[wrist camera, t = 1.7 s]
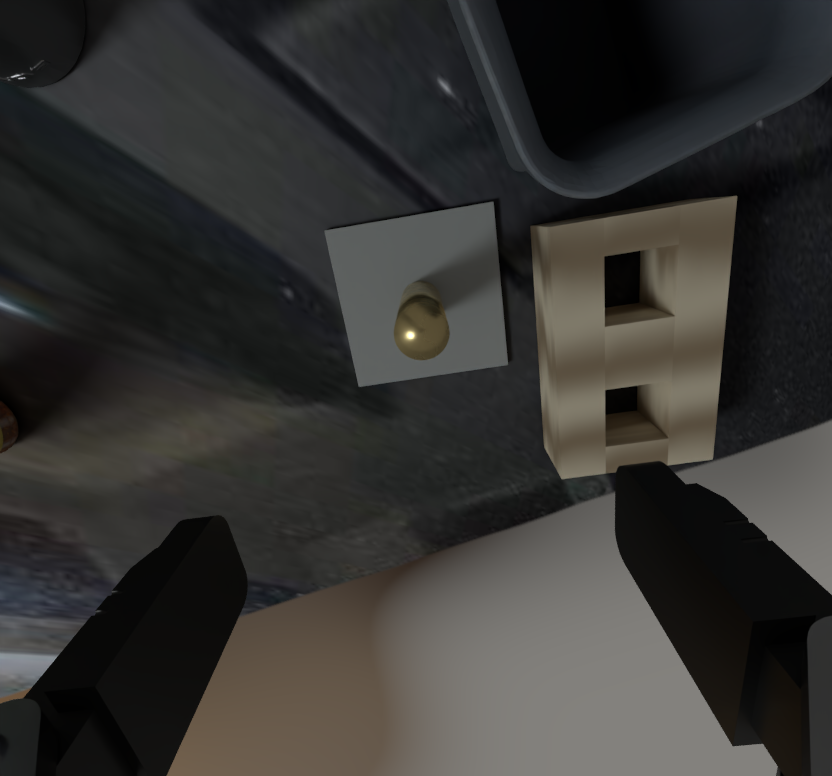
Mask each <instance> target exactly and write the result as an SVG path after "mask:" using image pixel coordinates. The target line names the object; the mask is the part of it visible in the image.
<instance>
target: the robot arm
mask: <svg viewBox="0 0 832 776" xmlns="http://www.w3.org/2000/svg"><path fill="white" fill-rule="evenodd" d="M84 36H85V9H84V3H83V0H0V81H1V82H4V83H8V84H11V85H15V86H20V87H26V88H32V87H43V86H46V85H49V84H52V83H55V82H57V81H58V80H59V79H61V78H62V77H63V76H65V75H66V74H67V73H68V72H69V71H70V69H71V68H72V67H73V66H74V64H75V63H76V61H77V59H78V57H79V54H80V52H81V50H82V46H83V41H84ZM615 534H616V541H617V545H618V548H619V552H620V555H621V557H622V559H623V561H624V563H625V565H626V567H627V568H628V570H629V572H630V574H631V575H632V577H633V579H634V580H635V582H636V584H637V585H638V587H639V589H640V591H641V592H642V594H643V596H644V597H645V599H646V601H647V602H648V604H649V606H650V607H651V609H652V611H653V612H654V614H655V616H656V617H657V619H658V621H659V622H660V624H661V626H662V627H663V629H664V631H665V633H666V634H667V636H668V638H669V639H670V641H671V643H672V644H673V646H674V648H675V650H676V651H677V653H678V655H679V656H680V658H681V660H682V661H683V663H684V665H685V666H686V668H687V670H688V671H689V673H690V675H691V676H692V678H693V680H694V682H695V683H696V685H697V686H698V688H699V690H700V692H701V693H702V695H703V697H704V698H705V700H706V702H707V703H708V705H709V707H710V708H711V710H712V712H713V714H714V715H715V717H716V719H717V720H718V722H719V724H720V725H721V727H722V729H723V731H724V732H725V734H726V736H727V737H728V739H729V741H730V742H731V744H732V746H739V745H740V746H741V745H752V744H764V746H765V747H766V749H767V750H768V752H769V753H770V755H771V756H772V758H773V760H774V761H775V763H776V764H777V766H778V768H777V773H776V776H832V595H831V594H830V593H829V592H828V591H826V590H825V589H824V588H823V587H822V586H821V585H820V584H819V583H818V582H817V581H816V580H814V579H813V578H812V577H811V576H810V575H809V574H808V573H807V572H806V571H805V570H804V569H802V568H801V567H800V566H799V565H798V564H797V563H796V562H795V561H794V560H792V558H790V557H789V556H788V555H787V554H786V553H785V552H784V551H783V550H782V549H781V548H780V547H778V546H777V545H776V544H775V543H774V542H773V541H768V539H767V536H766V535H765V534H764V533H763V532H762V531H761V530H760V529H759V528H758V527H757V526H755V525H754V524H753V523H749V521H748V518H747V517H745V515H744V514H742V513H741V512H740V511H739V510H738V509H737V508H736V507H735V506H733V504H731V503H730V502H729V501H728V500H727V499H726V498H724V497H722V496H720V495H718V494H716V493H714V492H712V491H710V490H709V489H707V488H705V487H703V486H701V485H699V484H697V483H695V484H685V483H684V482H683V481H682V480H681V479H680V478H679V477H678V476H677V475H676V474H675V473H674V472H673V471H672V470H671V469H670V468H669V467H668V466H667V465H666V464H665V463H663V462H661V461H653V462H645V463H637V464H629V465H622V466H619V467H618V468H617V471H616V484H615ZM247 587H248V583H247V575H246V571H245V568H244V565H243V563H242V560H241V557H240V555H239V552H238V549H237V547H236V544H235V541H234V539H233V536H232V533H231V531H230V528H229V525H228V523H227V521H226V520H225V518H224V517H222V516H220V515H217V516H209V517H201V518H193V519H185V520H182V521H180V522H179V523H178V524H177V525H176V526H175V527H174V528H173V530H172V531H171V532H170V533H169V535H168V536H167V537H166V538H165V540H164V541H163V542H162V544H161V545H160V546H159V547H158V548H156V549H154V550H153V551H152V552H151V553H149V554H148V555H147V556H146V557H144V558H143V559H142V560H141V561H139V562H138V563H137V564H136V565H134V566H133V567H132V568H131V569H130V570H129V571H128V572H127V573H126V575H125V576H124V577H123V578H122V579H121V581H120V582H119V583H118V584H117V585H116V587H115V588H114V589H113V590H112V595H111V596H107V598H106V599H105V600H104V601H103V602H102V604H101V605H100V606H99V607H98V608H97V610H96V614H95V616H91V617H90V618H89V619H88V621H87V622H86V623H85V624H84V625H83V627H82V628H81V629H80V630H79V631H78V633H77V634H76V635H75V636H74V638H73V639H72V640H71V641H70V642H69V644H68V645H67V646H66V647H65V648H64V650H63V651H62V652H61V653H60V654H59V656H58V657H57V658H56V659H55V661H54V662H53V663H52V664H51V665H50V667H49V668H48V669H47V670H46V671H45V673H44V674H43V675H42V676H41V677H40V679H39V680H38V681H37V682H36V683H35V685H34V686H33V687H32V688H31V690H30V691H29V692H28V693H27V694H26V696H25V697H24V698H22V699H14V700H10V701H7V702H3V703H1V704H0V776H166V775H167V773H168V771H169V769H170V767H171V764H172V762H173V760H174V758H175V756H176V753H177V751H178V749H179V747H180V745H181V742H182V740H183V738H184V736H185V733H186V732H187V729H188V727H189V725H190V722H191V720H192V718H193V716H194V714H195V712H196V709H197V707H198V705H199V703H200V701H201V698H202V696H203V694H204V692H205V690H206V687H207V685H208V683H209V681H210V679H211V676H212V674H213V672H214V670H215V668H216V666H217V663H218V661H219V659H220V657H221V655H222V652H223V650H224V648H225V646H226V643H227V641H228V639H229V637H230V635H231V633H232V630H233V628H234V626H235V624H236V621H237V619H238V617H239V615H240V613H241V611H242V608H243V606H244V604H245V600H246V596H247Z"/></svg>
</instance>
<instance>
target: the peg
mask: <svg viewBox="0 0 832 776" xmlns="http://www.w3.org/2000/svg"><path fill="white" fill-rule="evenodd" d="M449 335H450V331H449V325H448V321H447V318H446V314H445V311H444V307H443V303H442V300H441V296H440V293H439V291H438V289H437V288H436V287H435V286H434V285H433V284H431V283H429V282H426V281H416V282H413V283H411V284H410V285H408V286H407V287H406V288H405V290H404V291H403V294H402V297H401V301H400V305H399V309H398V314H397V318H396V322H395V326H394V339H395V343H396V345H397V347H398V348H399V350H400V351H401V352H402V353H403V354H404V355H406V356H407V357H409V358H411V359H415V360H429V359H432V358H434V357H436V356H437V355H439V354H440V353H441V352H442V351H443V350H444V349H445V347H446V345H447V343H448V341H449Z"/></svg>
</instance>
